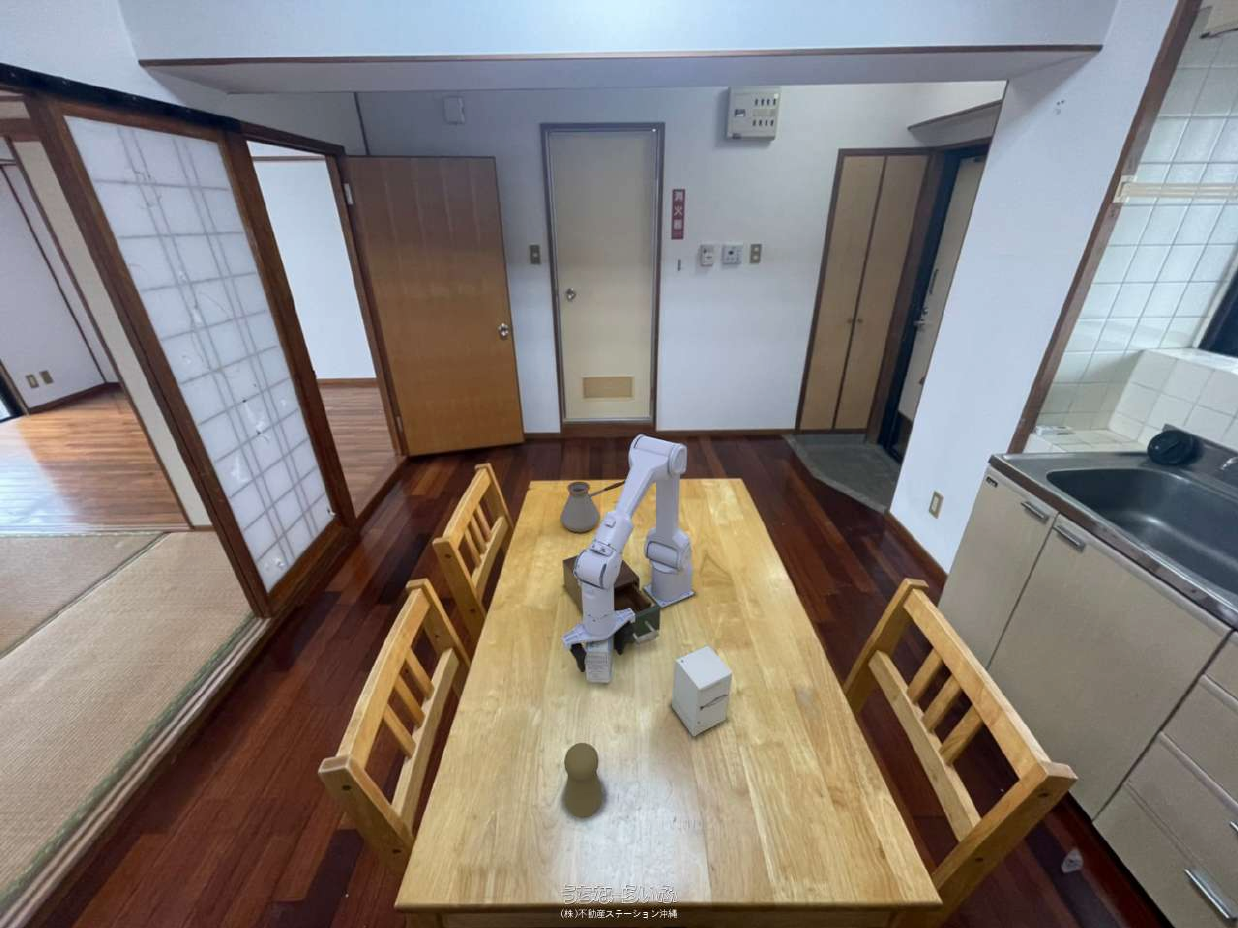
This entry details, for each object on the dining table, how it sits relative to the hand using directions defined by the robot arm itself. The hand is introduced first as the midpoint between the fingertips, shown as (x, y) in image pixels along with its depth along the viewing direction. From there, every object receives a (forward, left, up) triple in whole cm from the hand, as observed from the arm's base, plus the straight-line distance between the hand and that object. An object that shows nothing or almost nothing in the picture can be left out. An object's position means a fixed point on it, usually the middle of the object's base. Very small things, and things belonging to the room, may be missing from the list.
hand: (600, 659), depth 100 cm
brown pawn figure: (+13, +19, -5) cm, 24 cm away
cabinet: (-11, -21, -5) cm, 24 cm away
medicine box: (0, 0, -2) cm, 2 cm away
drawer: (-11, -9, -4) cm, 15 cm away
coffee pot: (-24, -48, -5) cm, 54 cm away
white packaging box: (-12, +16, -5) cm, 21 cm away
